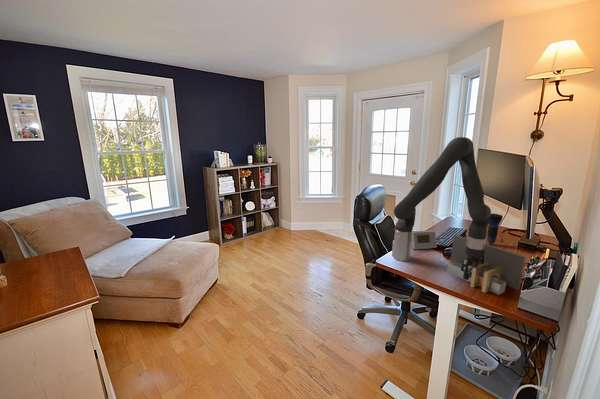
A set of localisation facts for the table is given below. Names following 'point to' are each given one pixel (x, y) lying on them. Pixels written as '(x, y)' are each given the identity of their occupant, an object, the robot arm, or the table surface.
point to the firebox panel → (493, 260)
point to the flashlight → (493, 227)
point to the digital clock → (424, 240)
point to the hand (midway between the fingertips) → (471, 277)
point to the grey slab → (494, 285)
